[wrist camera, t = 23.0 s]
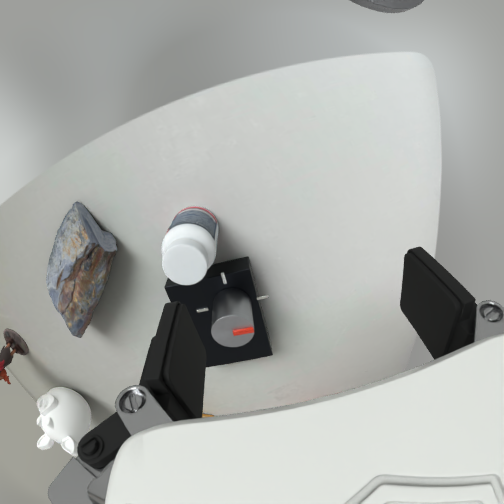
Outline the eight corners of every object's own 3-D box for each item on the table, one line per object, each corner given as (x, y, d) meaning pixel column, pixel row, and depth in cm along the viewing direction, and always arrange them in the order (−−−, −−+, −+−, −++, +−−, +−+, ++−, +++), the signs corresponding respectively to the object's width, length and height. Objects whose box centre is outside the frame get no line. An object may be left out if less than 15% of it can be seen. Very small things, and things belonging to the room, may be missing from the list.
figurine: (8, 352, 40) (-22, 401, 27) (1, 323, 37) (-36, 376, 23) (31, 365, 42) (3, 419, 28) (26, 338, 38) (-9, 395, 25)
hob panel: (168, 272, 34) (162, 286, 31) (258, 251, 34) (261, 264, 31) (203, 353, 40) (202, 368, 38) (279, 338, 40) (282, 354, 37)
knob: (218, 321, 34) (217, 352, 29) (208, 291, 32) (205, 321, 27) (254, 314, 34) (258, 345, 29) (247, 284, 32) (250, 313, 27)
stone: (57, 197, 27) (111, 250, 26) (83, 193, 31) (136, 240, 31) (31, 299, 32) (75, 347, 32) (53, 288, 36) (95, 331, 36)
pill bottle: (169, 207, 31) (148, 239, 23) (216, 202, 31) (210, 233, 23) (177, 250, 33) (161, 293, 25) (221, 246, 33) (218, 289, 25)
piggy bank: (60, 367, 42) (33, 428, 28) (106, 402, 46) (89, 463, 33) (40, 383, 44) (17, 434, 31) (81, 413, 49) (64, 465, 35)
